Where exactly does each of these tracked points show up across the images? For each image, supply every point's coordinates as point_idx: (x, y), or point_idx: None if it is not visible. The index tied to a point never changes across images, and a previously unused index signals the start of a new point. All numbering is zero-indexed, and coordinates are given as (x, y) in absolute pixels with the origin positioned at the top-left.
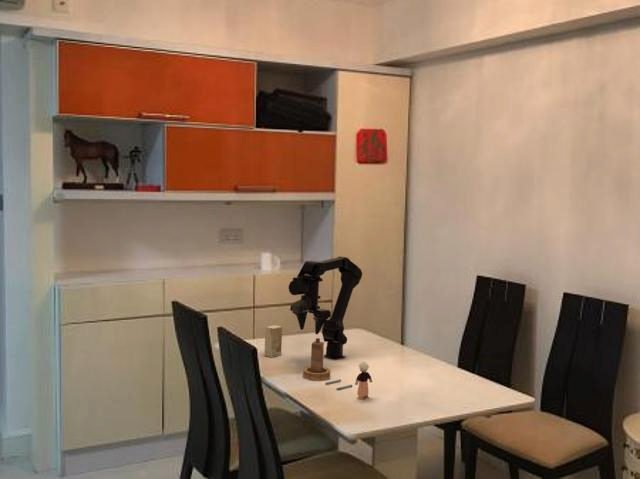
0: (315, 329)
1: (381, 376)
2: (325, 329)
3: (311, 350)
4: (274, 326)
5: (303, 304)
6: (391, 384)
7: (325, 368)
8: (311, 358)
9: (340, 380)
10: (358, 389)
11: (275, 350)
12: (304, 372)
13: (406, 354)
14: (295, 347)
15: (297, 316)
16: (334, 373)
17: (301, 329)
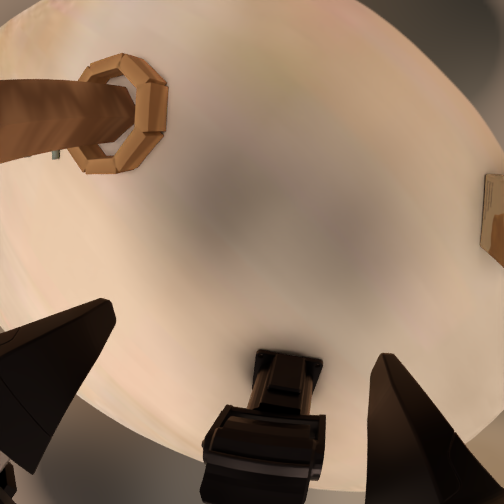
0: (66, 319)
1: (62, 290)
2: (277, 462)
3: (27, 79)
4: None
5: None
6: (25, 253)
7: (98, 164)
8: (61, 81)
9: (53, 157)
10: None
11: (500, 208)
12: (118, 56)
13: (190, 448)
14: (471, 361)
15: (485, 498)
16: (116, 206)
17: (379, 357)
